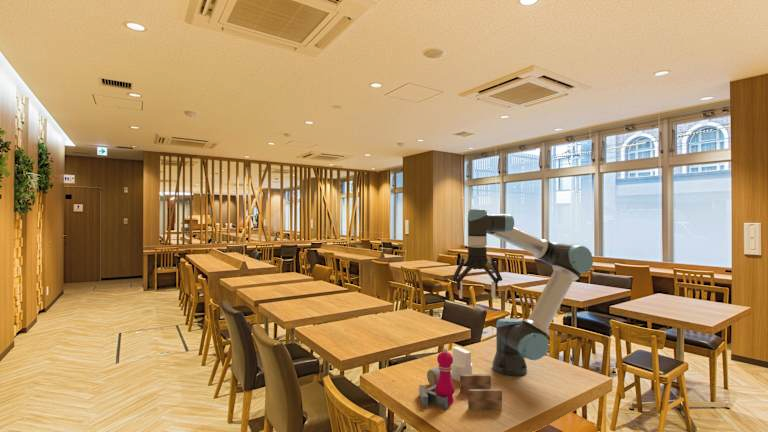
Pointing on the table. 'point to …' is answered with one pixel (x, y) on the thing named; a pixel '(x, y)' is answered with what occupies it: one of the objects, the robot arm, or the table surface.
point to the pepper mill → (445, 376)
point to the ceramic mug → (434, 376)
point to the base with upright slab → (461, 363)
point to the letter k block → (432, 397)
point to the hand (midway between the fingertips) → (477, 297)
